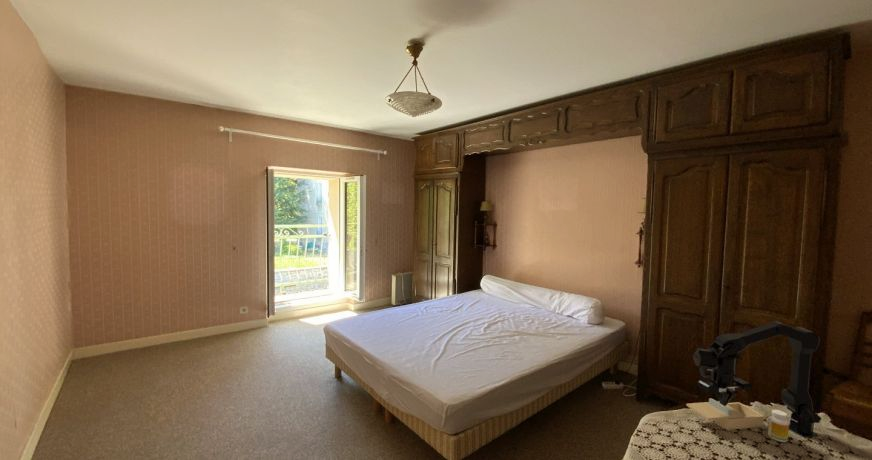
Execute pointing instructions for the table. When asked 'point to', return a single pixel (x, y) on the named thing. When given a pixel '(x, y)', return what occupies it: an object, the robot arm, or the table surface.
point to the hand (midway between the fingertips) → (722, 406)
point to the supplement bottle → (778, 426)
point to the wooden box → (742, 418)
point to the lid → (715, 410)
